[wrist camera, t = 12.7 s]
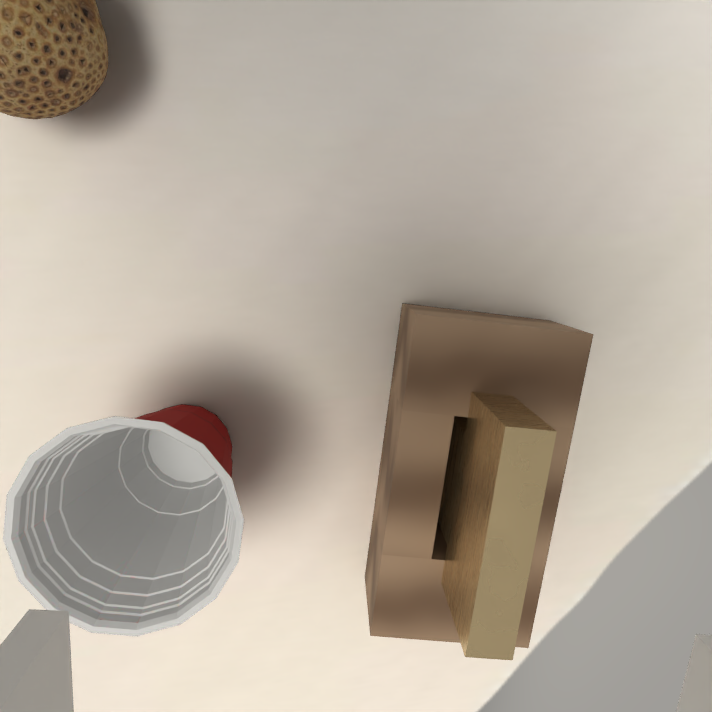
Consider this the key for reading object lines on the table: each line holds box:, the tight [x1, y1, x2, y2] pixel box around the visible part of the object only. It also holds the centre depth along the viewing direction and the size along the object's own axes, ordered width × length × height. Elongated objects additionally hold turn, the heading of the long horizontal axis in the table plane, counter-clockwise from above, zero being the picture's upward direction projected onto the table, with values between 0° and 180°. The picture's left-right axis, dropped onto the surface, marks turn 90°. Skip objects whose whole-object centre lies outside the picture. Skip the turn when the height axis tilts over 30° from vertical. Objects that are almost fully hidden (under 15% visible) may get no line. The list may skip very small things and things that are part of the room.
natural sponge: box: [0, 0, 108, 119], centre depth 26 cm, size 9×9×10 cm
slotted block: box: [365, 303, 593, 648], centre depth 34 cm, size 20×10×6 cm, turn 173°
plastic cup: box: [3, 404, 244, 636], centre depth 30 cm, size 11×11×12 cm
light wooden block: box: [438, 392, 557, 660], centre depth 31 cm, size 12×2×11 cm, turn 174°
